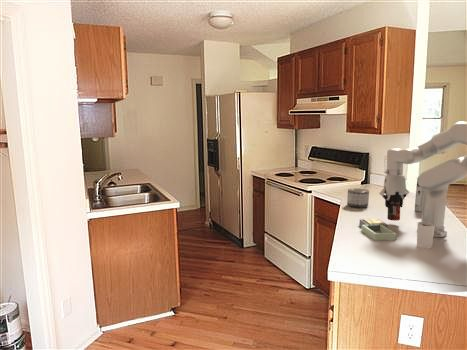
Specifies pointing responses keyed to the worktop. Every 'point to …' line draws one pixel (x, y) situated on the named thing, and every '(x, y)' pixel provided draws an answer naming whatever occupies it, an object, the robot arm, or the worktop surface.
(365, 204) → the planter
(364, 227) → the trough
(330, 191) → the worktop surface
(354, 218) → the worktop surface
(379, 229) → the cradle housing
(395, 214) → the deodorant
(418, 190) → the spray can
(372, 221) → the cradle plate
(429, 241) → the white square cup
